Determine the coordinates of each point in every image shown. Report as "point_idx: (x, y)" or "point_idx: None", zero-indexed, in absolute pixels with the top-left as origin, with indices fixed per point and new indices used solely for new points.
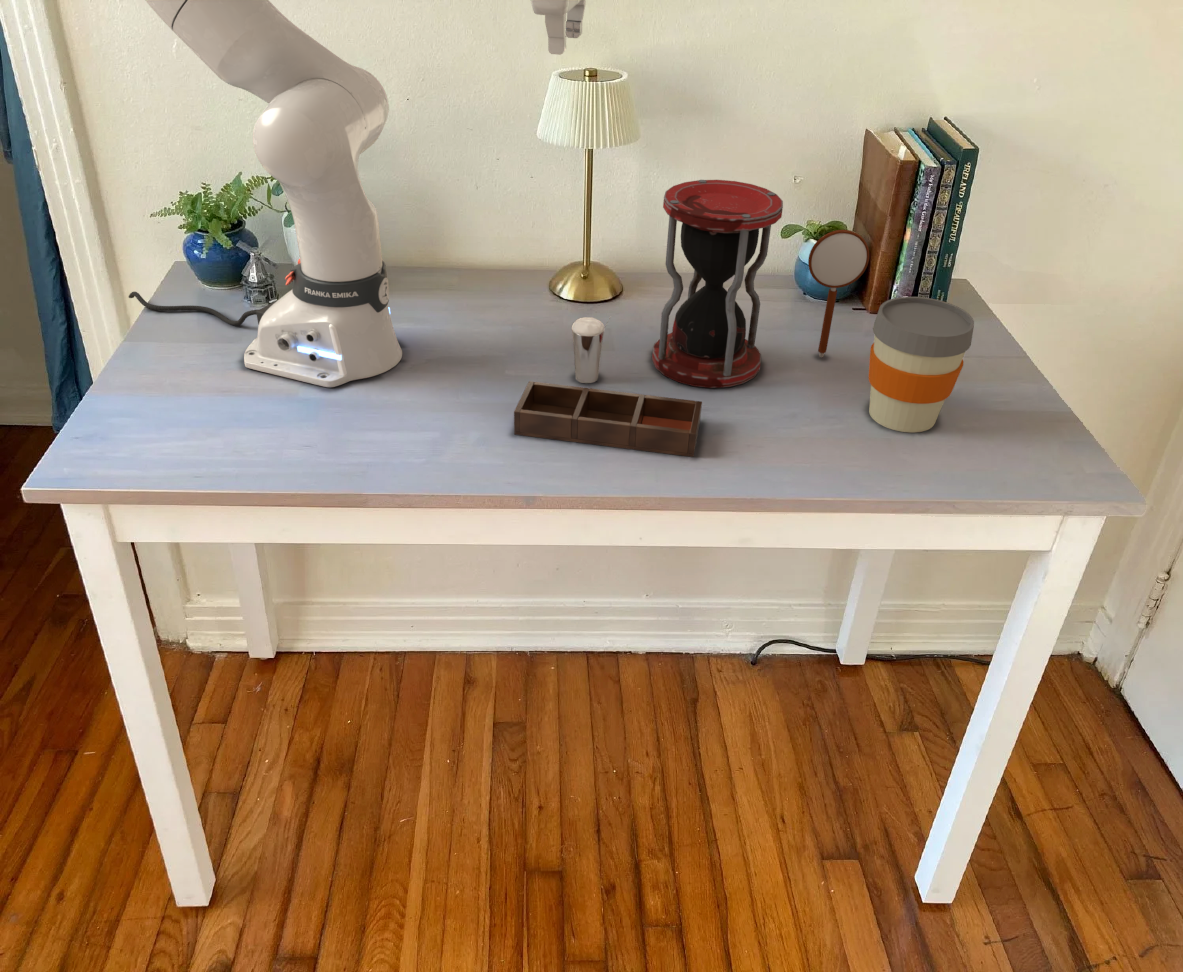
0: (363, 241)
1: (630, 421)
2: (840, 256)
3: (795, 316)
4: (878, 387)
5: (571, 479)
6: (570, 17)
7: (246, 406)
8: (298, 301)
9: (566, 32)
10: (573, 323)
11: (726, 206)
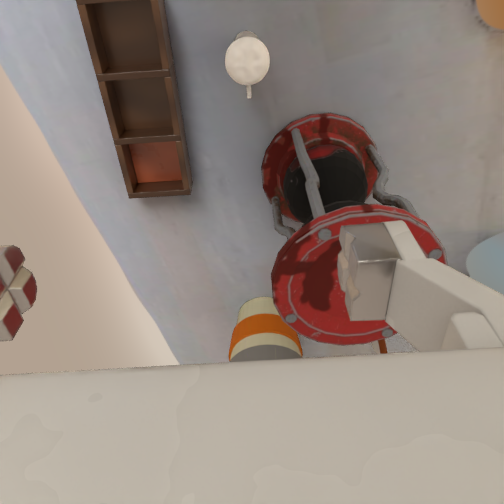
0: None
1: (163, 121)
2: None
3: (441, 236)
4: (243, 321)
5: (40, 86)
6: (402, 284)
7: None
8: None
9: (346, 234)
10: (248, 38)
11: None
